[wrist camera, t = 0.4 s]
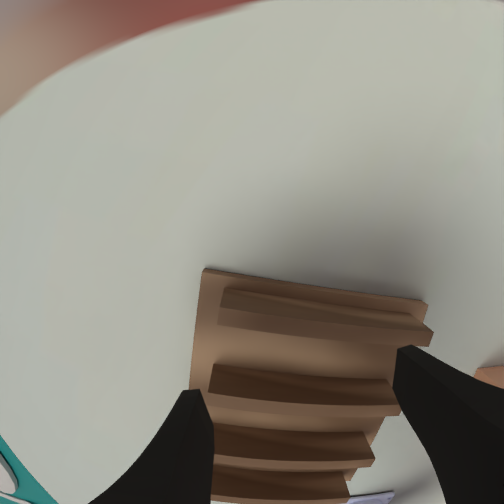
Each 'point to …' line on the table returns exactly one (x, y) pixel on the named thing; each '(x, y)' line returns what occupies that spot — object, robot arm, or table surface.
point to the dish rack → (296, 383)
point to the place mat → (18, 481)
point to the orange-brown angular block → (491, 375)
